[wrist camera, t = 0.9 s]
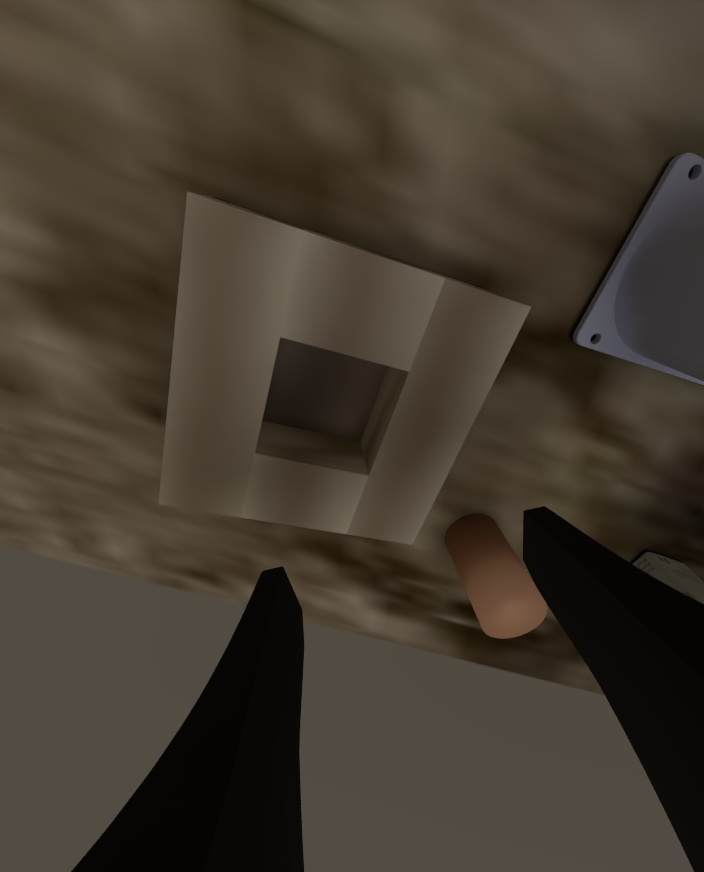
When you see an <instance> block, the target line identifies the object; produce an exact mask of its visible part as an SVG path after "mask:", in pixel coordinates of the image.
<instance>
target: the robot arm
mask: <svg viewBox="0 0 704 872" xmlns="http://www.w3.org/2000/svg"><path fill="white" fill-rule="evenodd" d="M692 167H693V173H692V175H691V177H690V178H689V177H688V173H689V171H690V169H691V168H692ZM594 334H596V337H595V339H594V340H593V341H590V340H591V337H592V336H593V335H594ZM573 340H574V342H575V343H576V344H578V345H581V346H583V347H587V348H590V349H593V350H596V351H599V352H602V353H605V354H608V355H611V356H615V357H618V358H621V359H624V360H627V361H630V362H633V363H636V364H640V365H643V366H646V367H649V368H652V369H655V370H658V371H661V372H665V373H668V374H671V375H674V376H677V377H680V378H683V379H686V380H689V381H693V382H696V383H699V384H702V385H704V158H702V157H700V156H698V155H696V154H694V153H689V152H688V153H683V154H680V155H677V156H676V157H675V158H673V159H672V161H671V162H670V163H669V165H668V167H667V168H666V170H665V172H664V174H663V175H662V177H661V179H660V181H659V183H658V184H657V186H656V188H655V190H654V191H653V193H652V195H651V197H650V198H649V200H648V202H647V204H646V206H645V207H644V209H643V211H642V213H641V214H640V216H639V218H638V220H637V222H636V223H635V225H634V227H633V229H632V230H631V232H630V234H629V236H628V237H627V239H626V241H625V243H624V245H623V246H622V248H621V250H620V252H619V253H618V255H617V257H616V259H615V261H614V262H613V264H612V266H611V268H610V269H609V271H608V273H607V275H606V276H605V278H604V280H603V282H602V284H601V285H600V287H599V289H598V291H597V292H596V294H595V296H594V298H593V300H592V301H591V303H590V305H589V307H588V308H587V310H586V312H585V314H584V315H583V317H582V319H581V321H580V323H579V324H578V326H577V328H576V330H575V331H574V334H573ZM523 561H524V563H525V565H526V567H527V569H528V571H529V573H530V575H531V577H532V579H533V581H534V583H535V585H536V587H537V588H538V590H539V592H540V594H541V595H542V597H543V599H544V600H545V602H546V603H547V605H548V606H549V608H550V609H551V611H552V612H553V614H554V616H555V617H556V619H557V620H558V622H559V623H560V625H561V626H562V628H563V629H564V631H565V632H566V634H567V635H568V637H569V638H570V640H571V641H572V643H573V644H574V646H575V647H576V649H577V651H578V652H579V654H580V655H581V657H582V658H583V660H584V661H585V663H586V664H587V666H588V667H589V669H590V670H591V672H592V674H593V675H594V677H595V679H596V680H597V682H598V684H599V685H600V687H601V689H602V691H603V692H604V694H605V696H606V698H607V700H608V702H609V703H610V705H611V707H612V709H613V711H614V713H615V715H616V716H617V718H618V720H619V722H620V723H621V725H622V727H623V729H624V731H625V733H626V735H627V737H628V739H629V741H630V743H631V745H632V747H633V749H634V750H635V752H636V754H637V756H638V758H639V760H640V762H641V764H642V766H643V768H644V769H645V772H646V773H647V776H648V778H649V780H650V782H651V784H652V786H653V787H654V790H655V792H656V794H657V796H658V798H659V800H660V802H661V804H662V805H663V808H664V810H665V812H666V814H667V816H668V818H669V820H670V821H671V824H672V826H673V828H674V830H675V832H676V834H677V836H678V839H679V841H680V843H681V845H682V847H683V849H684V851H685V853H686V855H687V857H688V859H689V862H690V864H691V866H692V868H693V870H694V872H704V604H703V603H701V602H699V601H697V600H695V599H693V598H691V597H689V596H687V595H685V594H683V593H681V592H679V591H678V590H676V589H674V588H672V587H670V586H668V585H667V584H665V583H663V582H661V581H660V580H658V579H656V578H654V577H653V576H651V575H649V574H648V573H646V572H644V571H642V570H641V569H639V568H637V567H636V566H634V565H633V564H631V563H629V562H628V561H626V560H624V559H623V558H621V557H620V556H618V555H617V554H615V553H614V552H612V551H610V550H609V549H607V548H606V547H604V546H603V545H601V544H600V543H598V542H596V541H595V540H593V539H592V538H590V537H589V536H588V535H586V534H585V533H583V532H582V531H580V530H579V529H577V528H576V527H574V526H573V525H571V524H570V523H568V522H567V521H566V520H564V519H563V518H561V517H560V516H558V515H557V514H555V513H554V512H552V511H551V510H549V509H548V508H546V507H545V506H543V507H538V508H534V509H530V510H525V511H524V520H523ZM303 659H304V633H303V616H302V608H301V606H300V604H299V601H298V599H297V597H296V595H295V592H294V590H293V588H292V586H291V583H290V581H289V579H288V577H287V574H286V572H285V570H284V568H283V566H282V567H278V568H274V569H269V570H265V571H263V572H262V573H261V574H260V577H259V579H258V581H257V584H256V586H255V588H254V591H253V593H252V595H251V598H250V600H249V602H248V604H247V607H246V609H245V611H244V613H243V615H242V617H241V620H240V622H239V624H238V626H237V628H236V630H235V632H234V634H233V636H232V638H231V640H230V642H229V644H228V646H227V648H226V650H225V652H224V654H223V656H222V658H221V659H220V661H219V663H218V665H217V667H216V669H215V671H214V672H213V674H212V676H211V678H210V680H209V681H208V684H207V685H206V687H205V688H204V690H203V692H202V694H201V695H200V697H199V699H198V700H197V702H196V704H195V705H194V707H193V708H192V710H191V712H190V713H189V715H188V716H187V718H186V720H185V721H184V723H183V724H182V726H181V727H180V729H179V730H178V732H177V733H176V735H175V736H174V738H173V739H172V741H171V742H170V744H169V745H168V747H167V748H166V750H165V751H164V753H163V754H162V756H161V757H160V758H159V760H158V761H157V763H156V764H155V766H154V767H153V768H152V770H151V771H150V773H149V774H148V775H147V777H146V778H145V779H144V781H143V782H142V783H141V785H140V786H139V787H138V789H137V790H136V791H135V793H134V794H133V795H132V797H131V798H130V799H129V801H128V802H127V803H126V804H125V806H124V807H123V808H122V810H121V811H120V812H119V814H118V815H117V816H116V818H115V819H114V820H113V822H112V823H111V824H110V825H109V827H108V828H107V829H106V831H105V832H104V833H103V834H102V836H101V837H100V838H99V839H98V840H97V842H96V843H95V844H94V845H93V846H92V848H91V849H90V850H89V851H88V852H87V854H86V855H85V856H84V857H83V858H82V860H81V861H80V862H79V863H78V864H77V865H76V867H75V868H74V869H73V870H72V871H71V872H304V860H303V844H302V819H301V797H300V796H301V795H300V760H299V740H300V735H299V734H300V716H301V697H302V680H303Z"/></svg>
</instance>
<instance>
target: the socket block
mask: <svg viewBox="0 0 704 872" xmlns="http://www.w3.org/2000/svg"><path fill="white" fill-rule="evenodd" d="M530 309H531V307H530V306H527V305H525V304H522V303H520V302H517V301H515V300H512V299H509V298H507V297H504V296H502V295H499V294H497V293H494V292H491V291H489V290H486V289H483V288H480V287H477V286H474V285H471V284H468V283H466V282H463V281H460V280H457V279H454V278H451V277H448V276H445V275H442V274H439V273H436V272H433V271H430V270H427V269H424V268H421V267H418V266H415V265H412V264H409V263H406V262H403V261H400V260H397V259H395V258H392V257H389V256H386V255H383V254H380V253H377V252H374V251H371V250H368V249H365V248H362V247H359V246H356V245H353V244H350V243H347V242H344V241H341V240H338V239H335V238H332V237H329V236H326V235H324V234H321V233H318V232H315V231H312V230H309V229H306V228H303V227H300V226H297V225H294V224H291V223H288V222H285V221H282V220H279V219H276V218H273V217H270V216H267V215H264V214H261V213H258V212H255V211H253V210H250V209H247V208H244V207H241V206H238V205H235V204H232V203H229V202H226V201H223V200H220V199H217V198H214V197H209V196H205V195H201V194H197V193H192V192H188V191H187V199H186V210H185V221H184V232H183V243H182V254H181V265H180V276H179V287H178V298H177V309H176V320H175V331H174V342H173V353H172V363H171V374H170V385H169V396H168V407H167V418H166V429H165V440H164V451H163V462H162V473H161V484H160V495H159V505H165V506H171V507H177V508H184V509H190V510H196V511H203V512H209V513H215V514H222V515H228V516H234V517H241V518H247V519H253V520H260V521H266V522H272V523H279V524H285V525H291V526H298V527H304V528H310V529H317V530H323V531H329V532H336V533H342V534H348V535H354V536H361V537H367V538H373V539H380V540H386V541H392V542H399V543H405V544H411V545H413V543H414V541H415V539H416V537H417V535H418V533H419V531H420V529H421V527H422V525H423V523H424V521H425V519H426V517H427V515H428V513H429V511H430V509H431V507H432V505H433V503H434V501H435V499H436V497H437V495H438V493H439V491H440V489H441V487H442V485H443V483H444V481H445V479H446V477H447V475H448V473H449V471H450V469H451V467H452V465H453V463H454V461H455V459H456V457H457V455H458V453H459V451H460V449H461V447H462V445H463V443H464V441H465V439H466V437H467V435H468V433H469V431H470V429H471V427H472V425H473V423H474V421H475V419H476V417H477V415H478V413H479V411H480V409H481V407H482V405H483V403H484V401H485V399H486V397H487V395H488V393H489V391H490V389H491V387H492V385H493V383H494V381H495V379H496V377H497V375H498V373H499V371H500V369H501V367H502V365H503V363H504V361H505V359H506V357H507V355H508V353H509V351H510V349H511V347H512V345H513V343H514V341H515V339H516V337H517V335H518V333H519V331H520V329H521V327H522V325H523V323H524V321H525V319H526V317H527V315H528V313H529V311H530Z"/></svg>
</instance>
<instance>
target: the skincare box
mask: <svg viewBox="0 0 704 872" xmlns="http://www.w3.org/2000/svg"><path fill="white" fill-rule="evenodd" d="M633 565H634V566H636V567H637V568H639V569H641V570H642V571H644V572H646V573H648V574H649V575H651V576H653V577H654V578H656V579H658V580H660V581H661V582H663V583H665V584H667V585H668V586H670V587H672V588H674V589H676V590H678V591H679V592H681V593H683V594H685V595H687V596H689V597H691V598H693V599H695V600H697V601H699V602H701V603H703V604H704V582H703V581H702V580H701V579H700V578H699V577H698V576H697V575H696V574H694V573H693V572H692V571H691V570H690V569H689V568H688V567H687V566H686V565H685V564H683V563H680V562H678V561H675V560H673V559H670V558H667V557H664V556H661V555H658V554H655V553H651V552H646V553H644V554H643V555H642V556H641V557H640V558H639V559H637V560H636V561H635V562H634V563H633Z"/></svg>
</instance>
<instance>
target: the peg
mask: <svg viewBox="0 0 704 872" xmlns="http://www.w3.org/2000/svg"><path fill="white" fill-rule="evenodd" d="M445 543H446V546H447V548H448V550H449V553H450V555H451V557H452V560H453V562H454V564H455V567H456V569H457V571H458V574H459V576H460V578H461V580H462V583H463V585H464V587H465V590H466V592H467V594H468V597H469V599H470V601H471V604H472V606H473V608H474V611H475V613H476V615H477V618H478V620H479V622H480V625H481V627H482V629H483V631H484V632H485V633H486V634H487V635H489V636H491V637H494V638H512V637H517V636H520V635H523V634H525V633H527V632H529V631H531V630H533V629H534V628H536V627H537V626H538V625H539V624H540V623H541V622H542V621H543V620H544V618H545V616H546V614H547V610H548V607H547V604H546V602H545V600H544V599H543V597H542V596H541V594H540V592H539V591H538V589H537V588H536V586H535V584H534V583H533V581H532V580H531V578H530V576H529V575H528V573H527V572H526V570H525V568H524V567H523V565H522V564H521V562H520V560H519V559H518V557H517V556H516V554H515V552H514V551H513V549H512V548H511V546H510V545H509V543H508V541H507V540H506V538H505V537H504V535H503V533H502V532H501V530H500V529H499V527H498V525H497V524H496V522H495V521H494V520H493V519H492V518H491V517H489V516H486V515H482V514H474V515H469V516H465V517H463V518H461V519H459V520H457V521H456V522H455V523H453V524H452V525H451V526H450V528H449V529H448V531H447V533H446V536H445Z"/></svg>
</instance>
